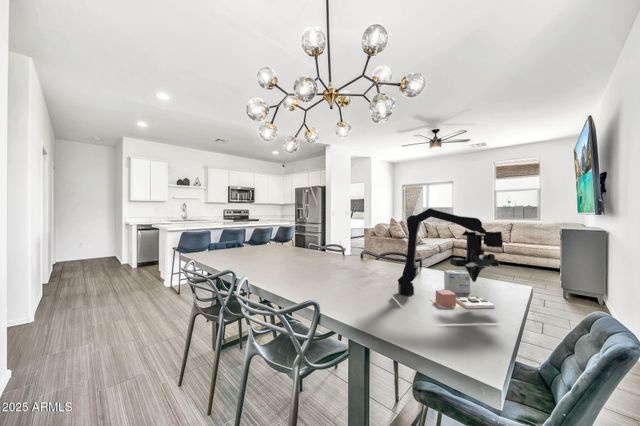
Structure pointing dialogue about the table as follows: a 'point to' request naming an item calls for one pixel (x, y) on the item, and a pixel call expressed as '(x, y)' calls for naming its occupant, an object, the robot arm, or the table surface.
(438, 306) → the pad
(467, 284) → the light bulb box
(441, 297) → the pink block
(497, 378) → the table surface
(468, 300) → the dark grey block
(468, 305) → the panel
